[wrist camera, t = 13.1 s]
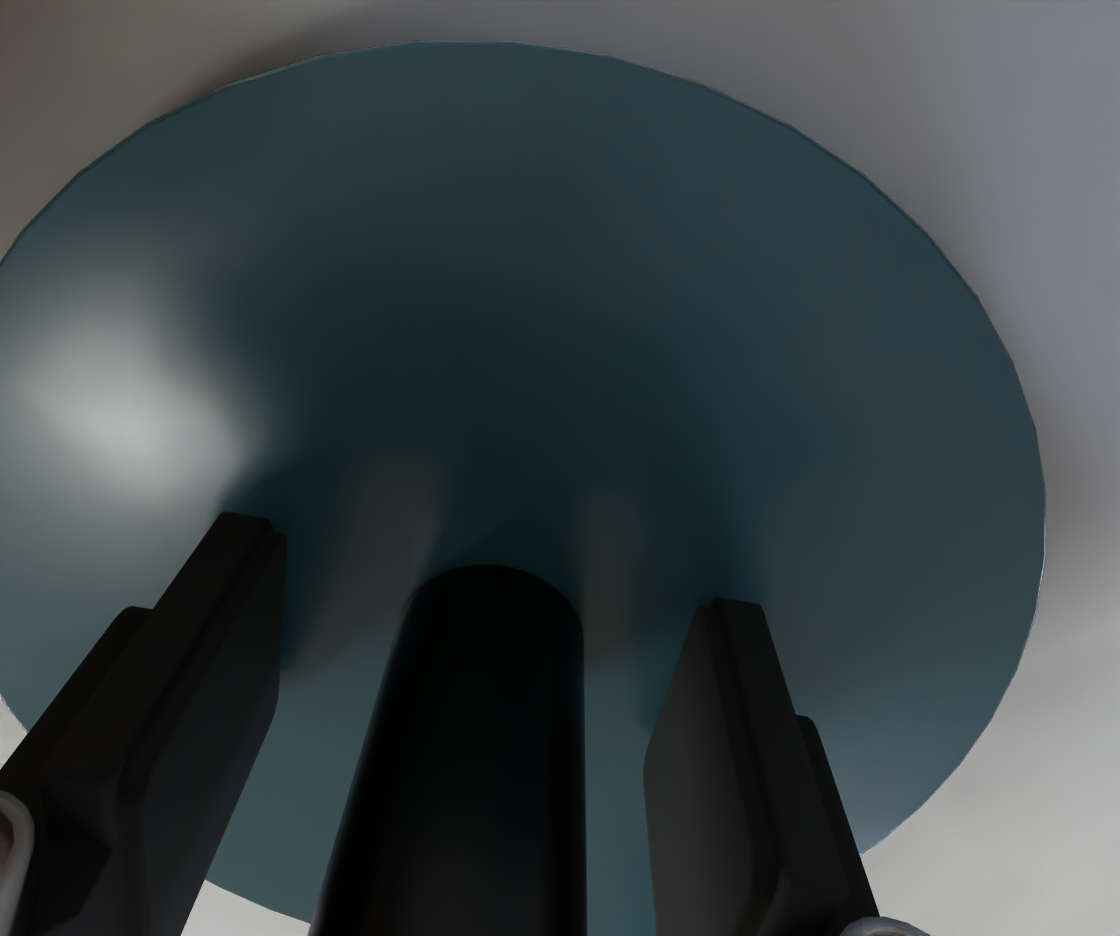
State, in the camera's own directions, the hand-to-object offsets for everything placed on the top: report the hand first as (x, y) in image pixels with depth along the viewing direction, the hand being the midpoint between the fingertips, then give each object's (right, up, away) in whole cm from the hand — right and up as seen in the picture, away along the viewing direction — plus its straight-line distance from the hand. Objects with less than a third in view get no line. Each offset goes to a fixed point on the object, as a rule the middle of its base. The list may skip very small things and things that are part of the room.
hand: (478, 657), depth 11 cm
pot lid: (0, 0, +1) cm, 1 cm away
